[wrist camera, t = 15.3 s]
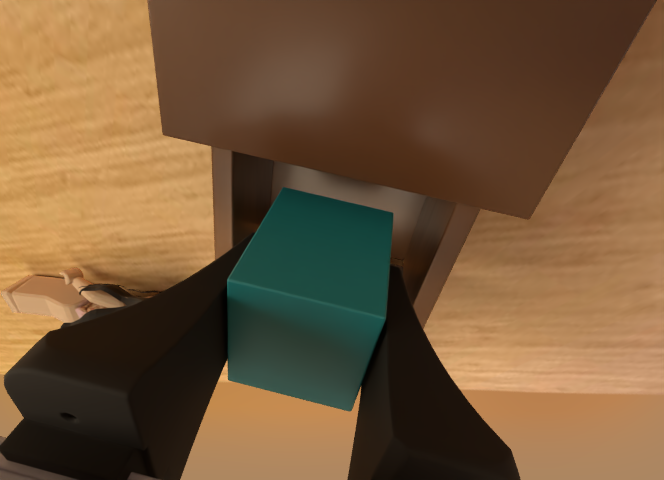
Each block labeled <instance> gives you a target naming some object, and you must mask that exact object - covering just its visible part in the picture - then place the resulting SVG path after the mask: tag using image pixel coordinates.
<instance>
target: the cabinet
mask: <svg viewBox="0 0 664 480" xmlns="http://www.w3.org/2000/svg"><path fill="white" fill-rule="evenodd" d="M656 1H657V0H148V9H149V18H150V27H151V35H152V44H153V53H154V62H155V71H156V79H157V88H158V97H159V106H160V114H161V123H162V132H163V135H165V136H170V137H174V138H178V139H183V140H187V141H191V142H196V143H200V144H204V145H208V146H213V147H217V148H221V149H226V150H230V151H234V152H239V153H243V154H247V155H252V156H256V157H260V158H265V159H269V160H273V161H278V162H282V163H286V164H291V165H295V166H299V167H304V168H308V169H312V170H317V171H321V172H325V173H329V174H334V175H338V176H342V177H347V178H351V179H355V180H360V181H364V182H368V183H373V184H377V185H381V186H386V187H390V188H394V189H399V190H403V191H407V192H412V193H416V194H420V195H425V196H429V197H433V198H438V199H442V200H446V201H450V202H455V203H459V204H463V205H468V206H472V207H476V208H481V209H485V210H489V211H494V212H498V213H502V214H507V215H511V216H515V217H520V218H524V219H530V217H531V216H532V214H533V212H534V210H535V209H536V207H537V205H538V203H539V202H540V200H541V198H542V197H543V195H544V193H545V191H546V190H547V188H548V186H549V185H550V183H551V181H552V179H553V178H554V176H555V174H556V173H557V171H558V169H559V167H560V166H561V164H562V162H563V161H564V159H565V157H566V155H567V154H568V152H569V150H570V149H571V147H572V145H573V143H574V142H575V140H576V138H577V137H578V135H579V133H580V131H581V130H582V128H583V126H584V124H585V123H586V121H587V119H588V118H589V116H590V114H591V112H592V111H593V109H594V107H595V106H596V104H597V102H598V100H599V99H600V97H601V95H602V94H603V92H604V90H605V88H606V87H607V85H608V83H609V82H610V80H611V78H612V76H613V75H614V73H615V71H616V70H617V68H618V66H619V64H620V63H621V61H622V59H623V58H624V56H625V54H626V52H627V51H628V49H629V47H630V45H631V44H632V42H633V40H634V39H635V37H636V35H637V33H638V32H639V30H640V28H641V27H642V25H643V23H644V21H645V20H646V18H647V16H648V15H649V13H650V11H651V9H652V8H653V6H654V4H655V3H656Z"/></svg>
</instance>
